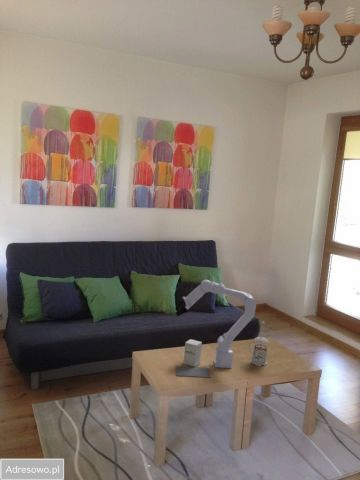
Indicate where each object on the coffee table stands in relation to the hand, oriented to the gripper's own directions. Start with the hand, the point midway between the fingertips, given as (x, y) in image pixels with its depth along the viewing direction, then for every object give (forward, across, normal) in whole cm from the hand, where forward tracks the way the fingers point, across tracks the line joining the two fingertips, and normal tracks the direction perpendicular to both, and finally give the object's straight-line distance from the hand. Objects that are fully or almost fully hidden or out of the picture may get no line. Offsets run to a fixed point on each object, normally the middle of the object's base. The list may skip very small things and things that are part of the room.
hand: (176, 312), depth 235 cm
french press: (-12, -4, +56) cm, 58 cm away
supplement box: (+14, +4, +27) cm, 31 cm away
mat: (+14, +14, +27) cm, 33 cm away
